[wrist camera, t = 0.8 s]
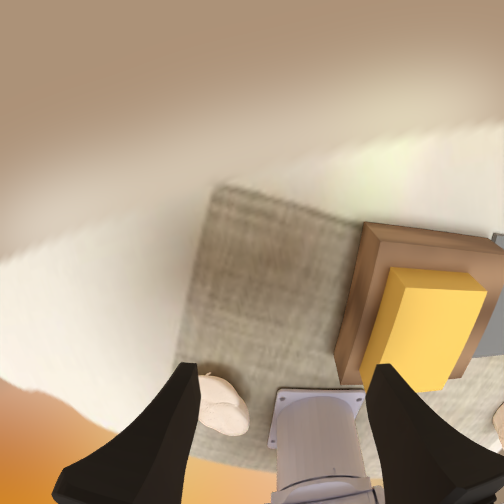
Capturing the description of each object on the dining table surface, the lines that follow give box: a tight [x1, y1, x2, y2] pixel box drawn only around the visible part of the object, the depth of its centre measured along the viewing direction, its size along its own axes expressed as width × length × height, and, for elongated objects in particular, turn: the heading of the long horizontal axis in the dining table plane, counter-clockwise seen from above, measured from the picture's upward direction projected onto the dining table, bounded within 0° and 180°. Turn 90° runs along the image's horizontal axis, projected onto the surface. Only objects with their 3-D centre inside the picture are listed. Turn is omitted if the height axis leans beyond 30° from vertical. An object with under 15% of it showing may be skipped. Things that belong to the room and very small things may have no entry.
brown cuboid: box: [334, 222, 504, 385], centre depth 21 cm, size 11×11×4 cm
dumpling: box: [198, 372, 250, 436], centre depth 25 cm, size 7×5×4 cm
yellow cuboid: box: [359, 267, 488, 393], centre depth 18 cm, size 8×6×2 cm
